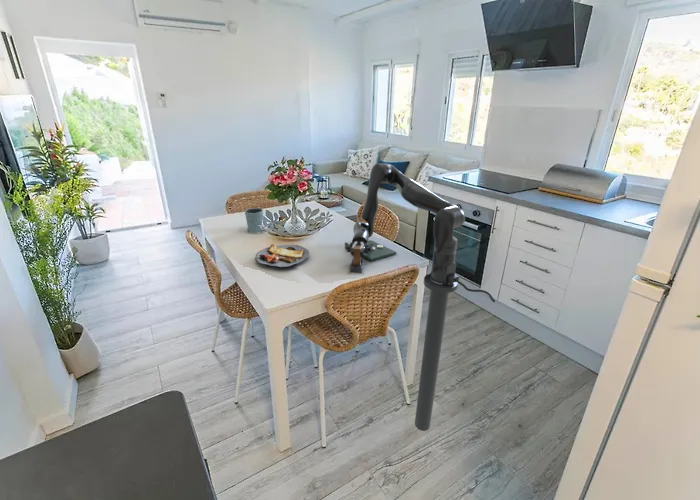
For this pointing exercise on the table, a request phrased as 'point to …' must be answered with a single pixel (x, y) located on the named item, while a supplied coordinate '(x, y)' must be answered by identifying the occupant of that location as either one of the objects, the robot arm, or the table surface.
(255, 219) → the grey-green cup
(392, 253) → the slate
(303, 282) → the table surface
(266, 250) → the food plate
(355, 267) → the brown block with base
